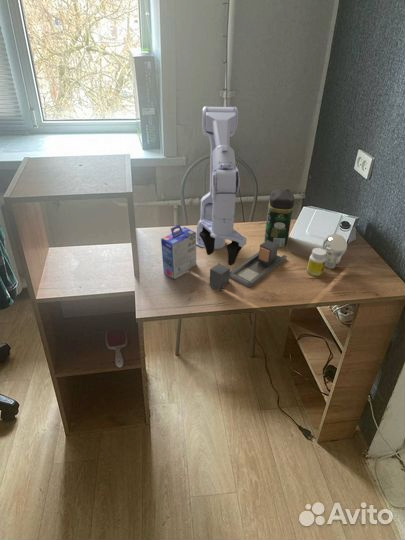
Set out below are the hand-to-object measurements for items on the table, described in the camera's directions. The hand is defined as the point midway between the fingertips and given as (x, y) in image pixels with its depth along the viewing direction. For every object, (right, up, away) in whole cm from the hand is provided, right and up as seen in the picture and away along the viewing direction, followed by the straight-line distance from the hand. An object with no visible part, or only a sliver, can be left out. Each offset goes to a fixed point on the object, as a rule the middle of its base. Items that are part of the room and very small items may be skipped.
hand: (220, 258), depth 109 cm
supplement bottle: (+29, -5, +11) cm, 31 cm away
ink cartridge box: (-12, -3, +12) cm, 17 cm away
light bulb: (+35, -3, +14) cm, 37 cm away
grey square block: (0, -8, +5) cm, 10 cm away
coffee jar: (+20, +6, +26) cm, 33 cm away
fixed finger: (+15, 0, +15) cm, 21 cm away
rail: (+12, -3, +12) cm, 17 cm away
